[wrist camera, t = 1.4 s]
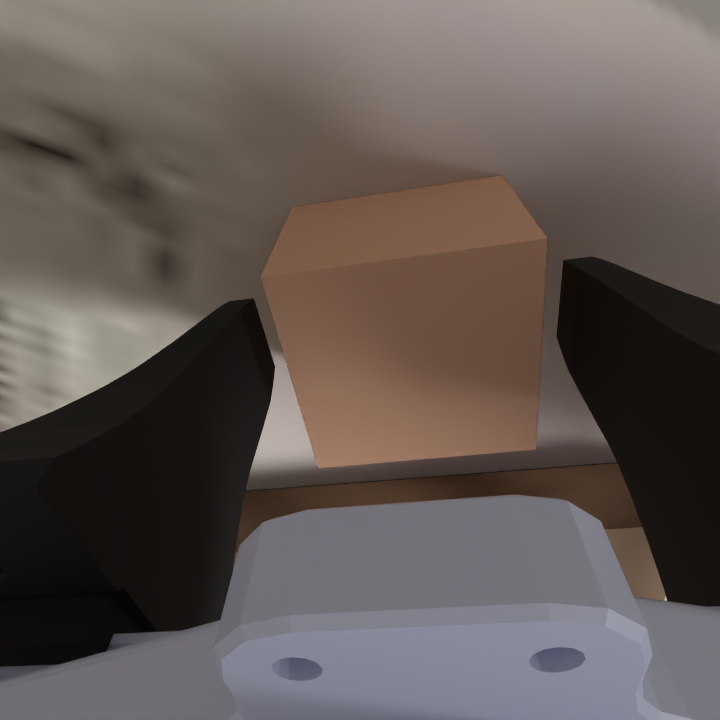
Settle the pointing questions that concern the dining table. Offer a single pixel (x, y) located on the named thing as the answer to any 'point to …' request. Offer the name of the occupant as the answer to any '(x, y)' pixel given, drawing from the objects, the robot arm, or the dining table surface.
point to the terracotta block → (412, 322)
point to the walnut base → (574, 484)
